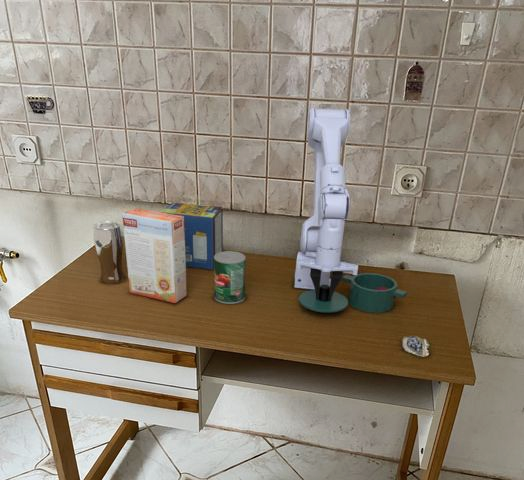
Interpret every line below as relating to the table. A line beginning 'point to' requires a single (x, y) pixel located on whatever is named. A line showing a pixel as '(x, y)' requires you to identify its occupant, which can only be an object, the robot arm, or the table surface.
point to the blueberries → (416, 345)
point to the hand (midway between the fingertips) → (323, 298)
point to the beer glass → (109, 251)
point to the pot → (372, 292)
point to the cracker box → (155, 254)
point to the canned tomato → (229, 277)
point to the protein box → (200, 232)
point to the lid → (323, 300)
